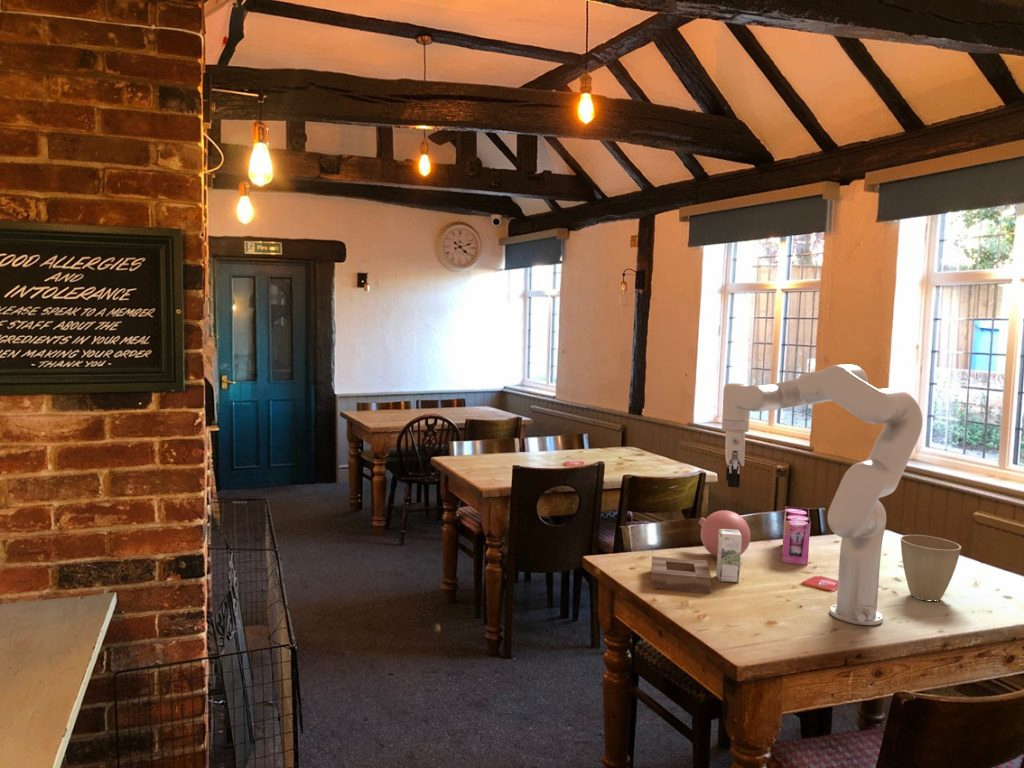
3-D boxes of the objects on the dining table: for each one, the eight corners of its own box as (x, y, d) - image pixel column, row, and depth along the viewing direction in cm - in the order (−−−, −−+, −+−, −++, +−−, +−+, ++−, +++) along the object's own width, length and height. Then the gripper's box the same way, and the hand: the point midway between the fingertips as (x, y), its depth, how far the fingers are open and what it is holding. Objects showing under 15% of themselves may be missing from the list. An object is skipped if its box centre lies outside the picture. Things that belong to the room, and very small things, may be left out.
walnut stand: (710, 593, 213) (711, 577, 212) (651, 588, 215) (652, 572, 215) (705, 575, 229) (706, 560, 228) (651, 570, 231) (652, 556, 231)
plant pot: (925, 609, 206) (929, 550, 205) (884, 590, 221) (888, 535, 219) (969, 605, 210) (974, 548, 209) (927, 587, 225) (931, 533, 223)
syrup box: (735, 576, 228) (738, 529, 227) (739, 583, 222) (742, 534, 221) (715, 575, 229) (718, 527, 228) (719, 582, 223) (721, 533, 222)
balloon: (720, 545, 261) (722, 501, 260) (759, 563, 243) (762, 515, 242) (681, 549, 256) (684, 503, 254) (719, 567, 237) (721, 518, 236)
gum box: (808, 567, 241) (811, 524, 240) (781, 563, 243) (784, 521, 242) (806, 547, 263) (809, 508, 262) (782, 544, 266) (784, 505, 265)
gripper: (751, 430, 215) (748, 490, 216) (746, 423, 231) (743, 479, 232) (723, 428, 216) (720, 488, 217) (720, 422, 233) (718, 477, 234)
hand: (732, 483), depth 225 cm, fingers open, 9 cm apart
